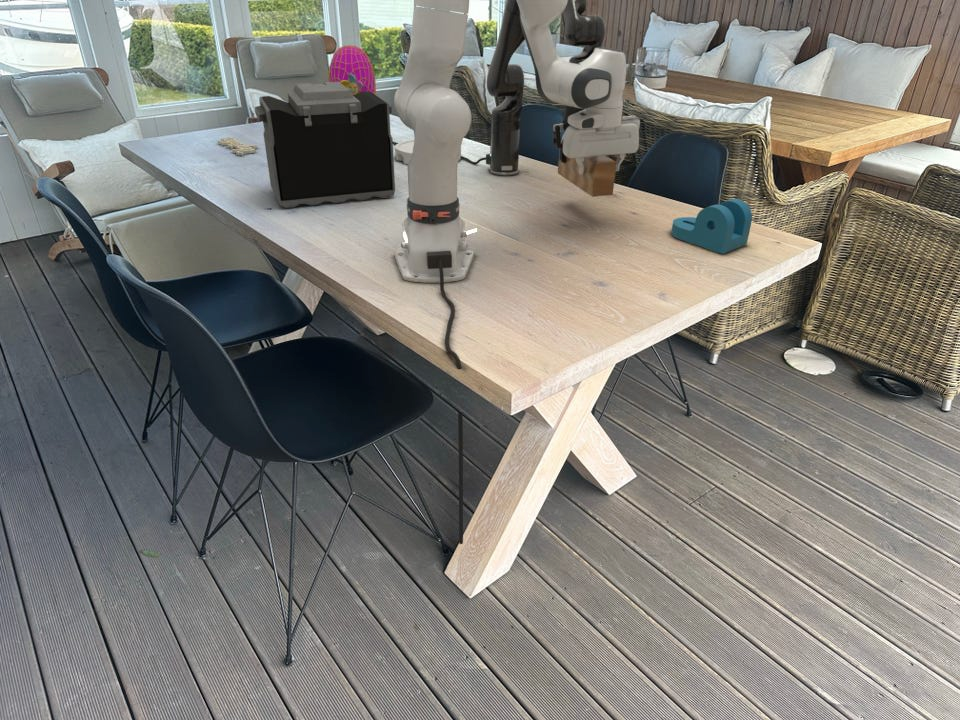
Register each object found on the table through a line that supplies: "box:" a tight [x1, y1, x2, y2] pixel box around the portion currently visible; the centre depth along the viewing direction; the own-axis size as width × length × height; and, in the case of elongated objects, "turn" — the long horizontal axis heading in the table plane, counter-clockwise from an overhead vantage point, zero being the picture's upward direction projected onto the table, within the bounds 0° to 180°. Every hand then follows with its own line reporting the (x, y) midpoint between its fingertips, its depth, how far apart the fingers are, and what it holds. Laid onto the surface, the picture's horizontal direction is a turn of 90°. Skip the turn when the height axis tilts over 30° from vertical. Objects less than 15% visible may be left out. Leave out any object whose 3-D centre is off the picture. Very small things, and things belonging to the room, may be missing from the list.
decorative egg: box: [328, 44, 377, 96], centre depth 286 cm, size 19×19×30 cm
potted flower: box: [340, 73, 363, 96], centre depth 255 cm, size 9×8×25 cm
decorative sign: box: [217, 136, 259, 156], centre depth 254 cm, size 26×1×10 cm
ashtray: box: [394, 139, 462, 165], centre depth 243 cm, size 23×23×4 cm
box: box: [557, 148, 617, 198], centre depth 186 cm, size 22×6×9 cm, turn 18°
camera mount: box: [670, 198, 753, 255], centre depth 173 cm, size 18×10×10 cm, turn 39°
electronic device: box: [254, 81, 396, 209], centre depth 199 cm, size 37×22×30 cm, turn 111°
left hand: (598, 172), depth 179 cm, fingers open, 8 cm apart
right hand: (574, 161), depth 192 cm, fingers closed on box, 6 cm apart
